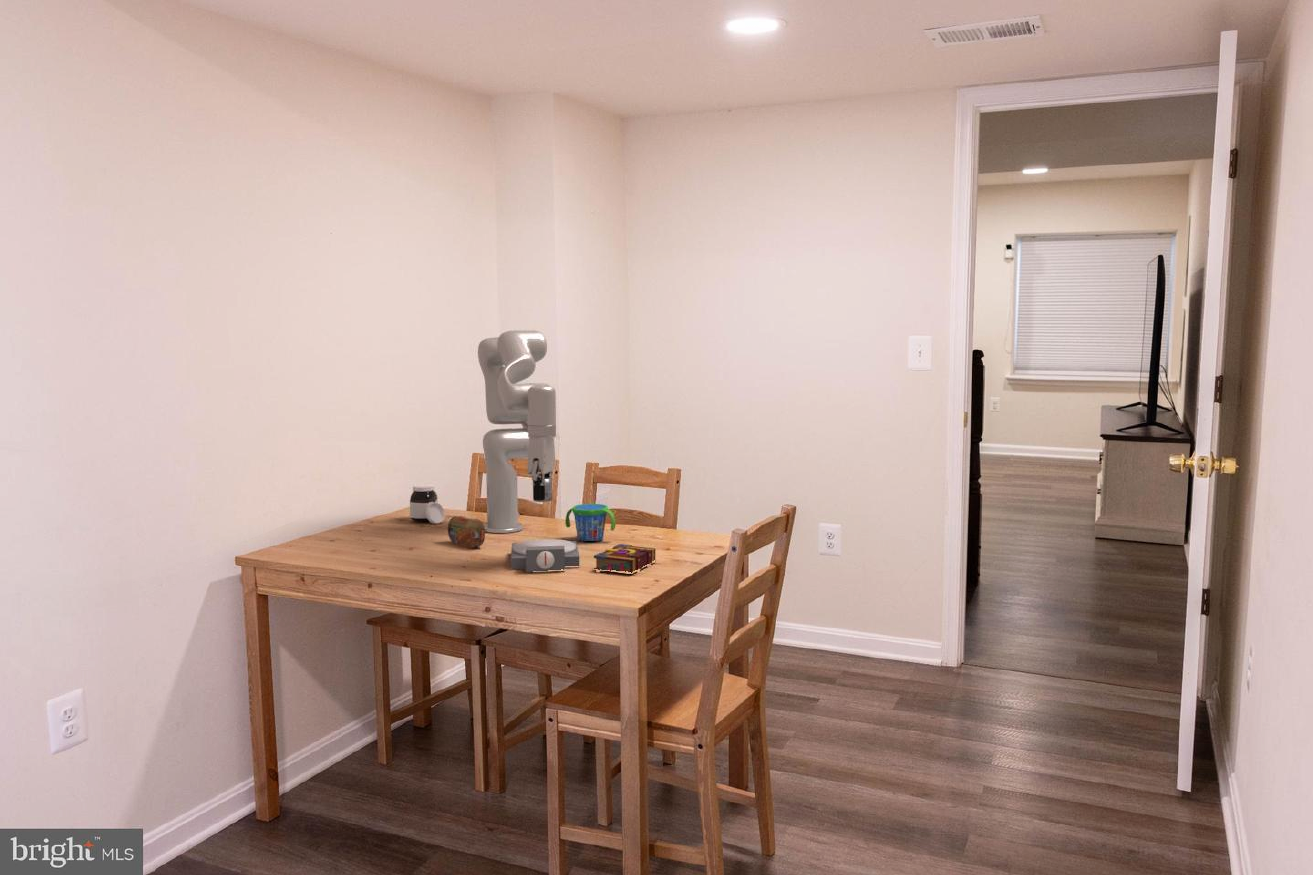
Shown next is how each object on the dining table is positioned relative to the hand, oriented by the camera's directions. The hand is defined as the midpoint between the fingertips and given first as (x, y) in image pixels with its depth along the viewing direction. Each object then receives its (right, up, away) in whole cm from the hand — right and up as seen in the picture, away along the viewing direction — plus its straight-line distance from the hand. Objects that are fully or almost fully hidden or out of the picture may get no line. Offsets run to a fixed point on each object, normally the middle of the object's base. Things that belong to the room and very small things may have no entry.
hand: (542, 497), depth 268 cm
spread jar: (-43, -11, +53) cm, 70 cm away
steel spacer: (0, -1, 0) cm, 1 cm away
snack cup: (+11, -15, +27) cm, 33 cm away
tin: (-24, -15, +20) cm, 35 cm away
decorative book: (+22, -19, -6) cm, 30 cm away
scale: (+1, -18, 0) cm, 18 cm away
